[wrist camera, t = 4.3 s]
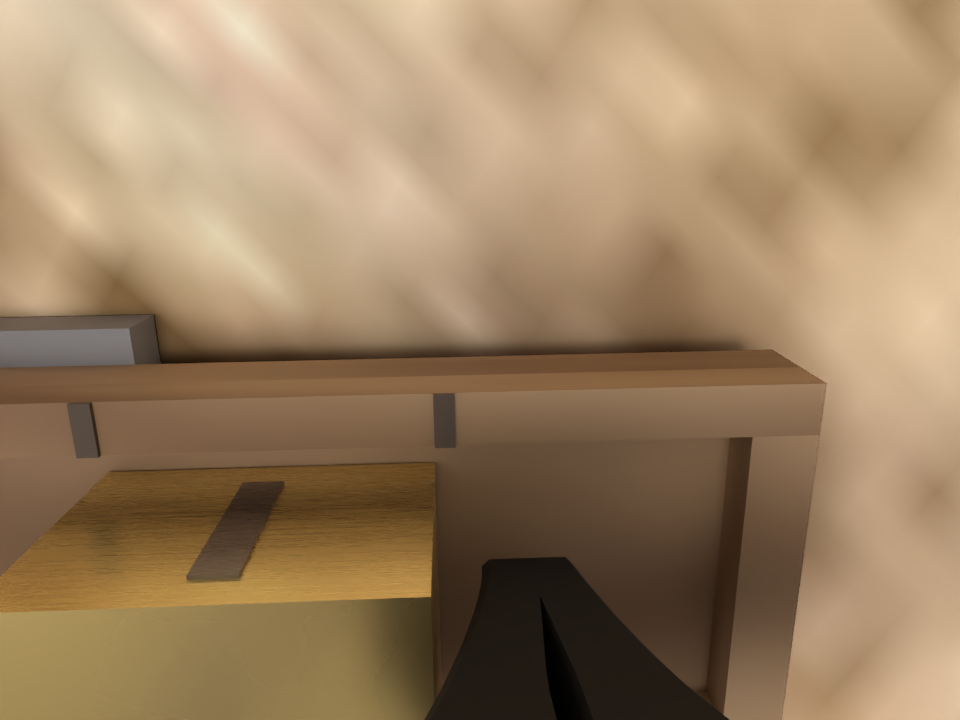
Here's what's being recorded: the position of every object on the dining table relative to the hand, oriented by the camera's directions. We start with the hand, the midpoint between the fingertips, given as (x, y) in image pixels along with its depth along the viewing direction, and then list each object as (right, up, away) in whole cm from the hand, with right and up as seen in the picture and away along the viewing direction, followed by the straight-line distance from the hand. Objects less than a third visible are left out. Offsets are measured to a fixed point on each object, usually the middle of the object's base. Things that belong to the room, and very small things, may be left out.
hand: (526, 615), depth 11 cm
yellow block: (-4, 0, +1) cm, 4 cm away
